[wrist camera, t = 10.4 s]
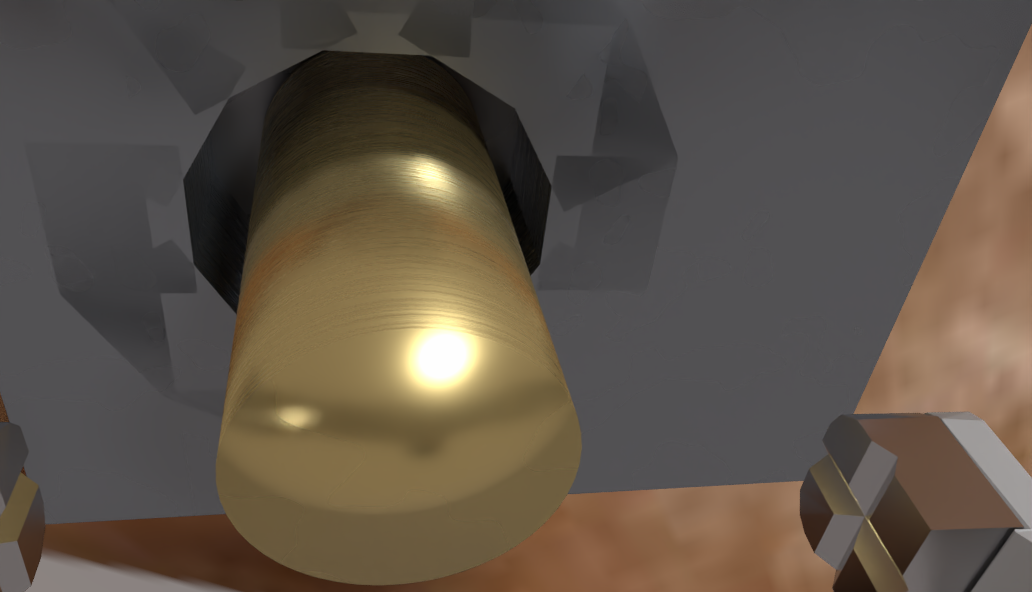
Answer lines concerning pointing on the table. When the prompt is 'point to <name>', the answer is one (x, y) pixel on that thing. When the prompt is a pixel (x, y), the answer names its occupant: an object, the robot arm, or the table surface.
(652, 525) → the table surface
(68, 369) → the jig
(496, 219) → the peg
